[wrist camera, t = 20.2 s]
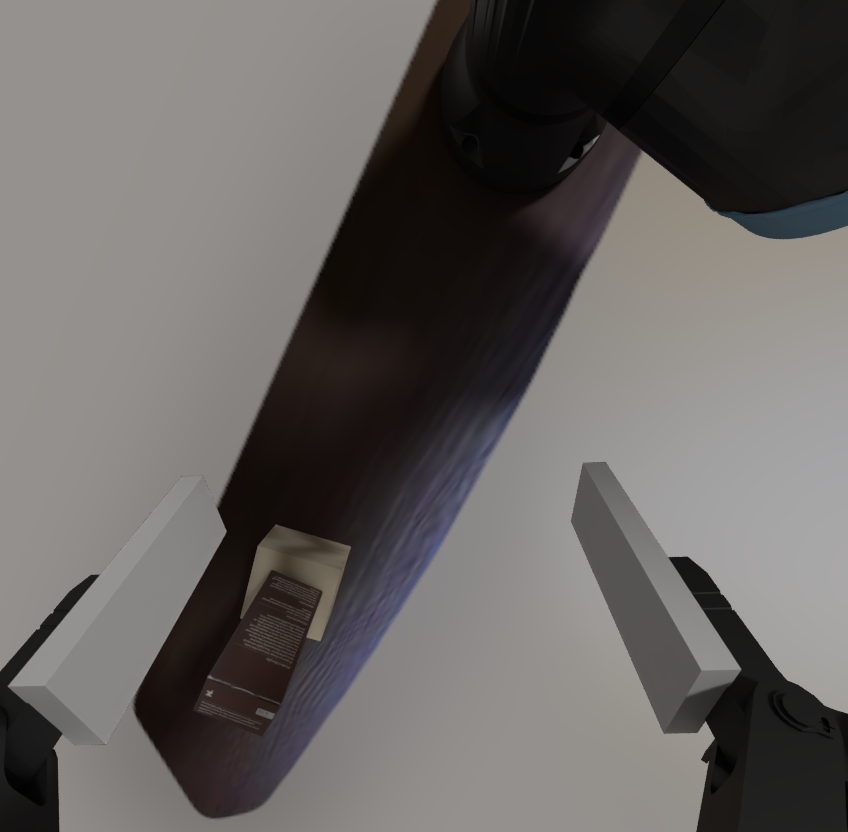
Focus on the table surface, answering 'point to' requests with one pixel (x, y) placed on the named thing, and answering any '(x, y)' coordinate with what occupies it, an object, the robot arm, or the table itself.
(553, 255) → the table surface
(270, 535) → the ash block
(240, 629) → the box
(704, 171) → the robot arm
